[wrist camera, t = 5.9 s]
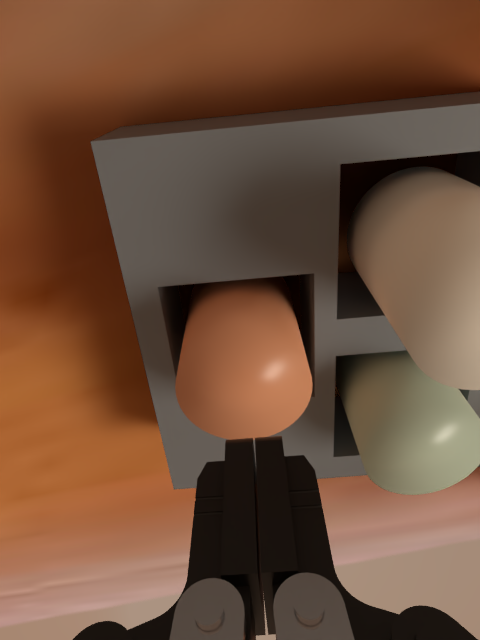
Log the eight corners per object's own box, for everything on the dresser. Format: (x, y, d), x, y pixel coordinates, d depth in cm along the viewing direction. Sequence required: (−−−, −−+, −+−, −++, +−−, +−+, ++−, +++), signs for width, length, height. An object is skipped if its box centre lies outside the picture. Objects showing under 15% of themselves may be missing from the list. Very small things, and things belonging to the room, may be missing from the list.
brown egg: (288, 252, 18) (312, 325, 13) (291, 342, 20) (312, 435, 15) (183, 262, 18) (164, 337, 13) (197, 349, 20) (186, 445, 15)
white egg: (484, 160, 14) (633, 211, 9) (462, 283, 16) (572, 383, 11) (349, 172, 14) (416, 231, 9) (344, 293, 16) (397, 396, 11)
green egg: (428, 313, 20) (500, 400, 14) (417, 390, 22) (476, 490, 17) (331, 321, 20) (366, 411, 15) (329, 397, 22) (360, 498, 17)
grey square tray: (502, 89, 16) (579, 93, 12) (444, 407, 23) (481, 466, 20) (120, 126, 16) (90, 141, 13) (182, 427, 24) (173, 489, 20)
